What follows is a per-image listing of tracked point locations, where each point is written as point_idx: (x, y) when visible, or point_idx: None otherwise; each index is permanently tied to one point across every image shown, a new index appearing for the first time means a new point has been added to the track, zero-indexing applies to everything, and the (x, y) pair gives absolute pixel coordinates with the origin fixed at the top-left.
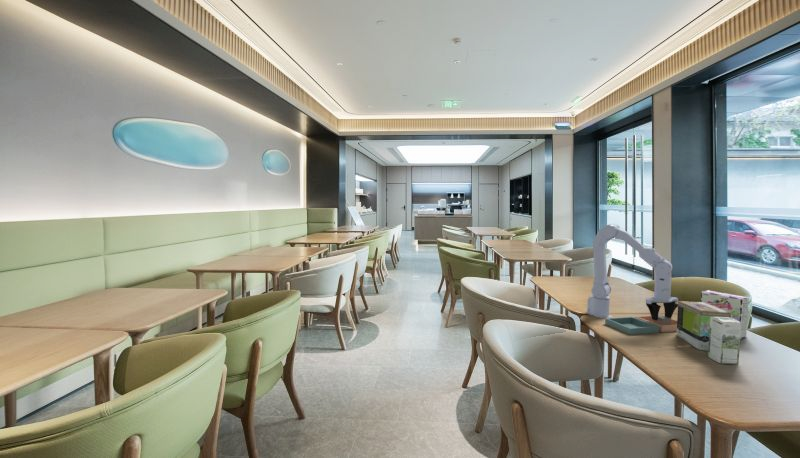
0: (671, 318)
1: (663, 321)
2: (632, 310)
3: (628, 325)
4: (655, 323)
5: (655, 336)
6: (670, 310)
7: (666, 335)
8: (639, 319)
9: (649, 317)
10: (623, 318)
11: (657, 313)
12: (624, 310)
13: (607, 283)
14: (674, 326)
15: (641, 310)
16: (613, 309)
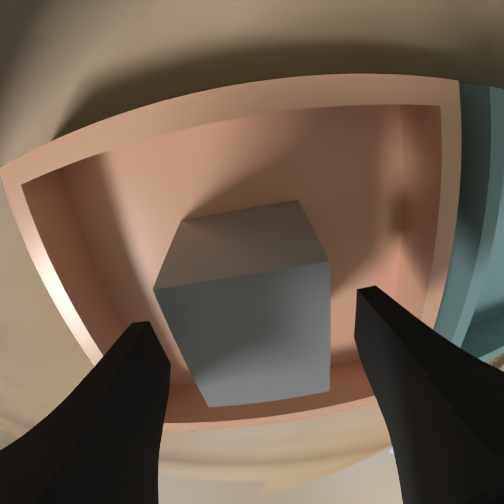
0: (95, 362)
1: (313, 239)
2: (208, 477)
3: (502, 276)
4: (445, 199)
5: (492, 43)
6: (106, 434)
7: (398, 25)
8: (458, 327)
9: (272, 405)
10: (502, 342)
11: (431, 349)
12: (247, 477)
13: None
14: (237, 85)
15: (165, 473)
16: (289, 479)
